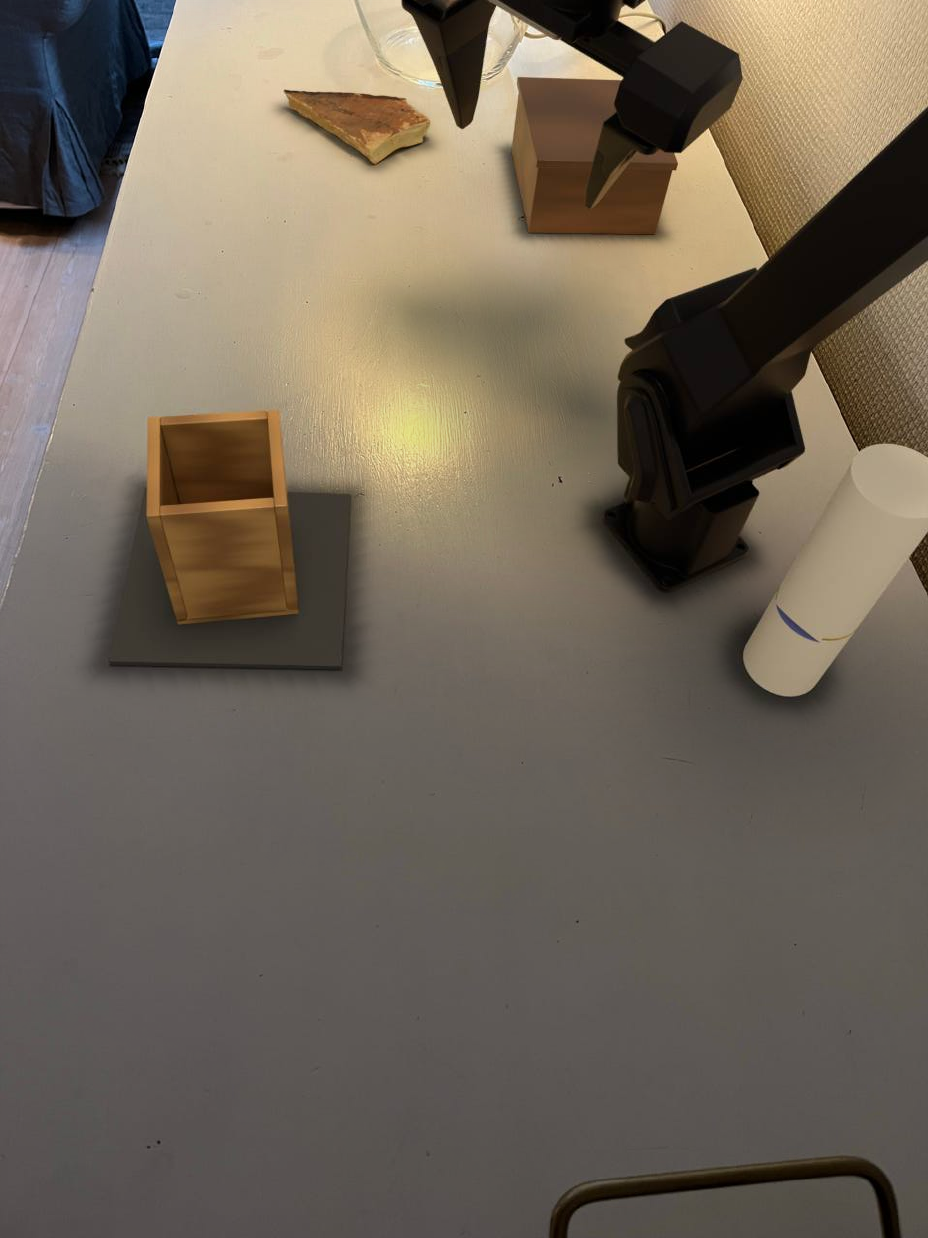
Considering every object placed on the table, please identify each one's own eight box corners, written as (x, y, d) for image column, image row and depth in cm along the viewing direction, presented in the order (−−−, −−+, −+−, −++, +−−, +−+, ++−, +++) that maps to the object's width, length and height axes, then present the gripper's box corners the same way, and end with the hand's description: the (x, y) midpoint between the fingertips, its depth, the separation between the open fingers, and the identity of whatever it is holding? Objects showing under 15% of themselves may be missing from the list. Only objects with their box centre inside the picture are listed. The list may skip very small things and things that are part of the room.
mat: (341, 669, 52) (341, 666, 52) (110, 665, 51) (108, 661, 51) (351, 498, 59) (350, 493, 59) (146, 491, 58) (144, 486, 58)
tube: (815, 635, 56) (941, 450, 44) (823, 701, 54) (959, 524, 41) (740, 626, 56) (845, 438, 44) (745, 691, 54) (857, 511, 41)
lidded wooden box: (658, 235, 76) (678, 162, 71) (526, 234, 75) (537, 159, 70) (630, 152, 83) (647, 80, 78) (508, 149, 81) (517, 76, 76)
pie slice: (284, 107, 82) (282, 85, 81) (354, 79, 86) (354, 58, 84) (369, 167, 78) (369, 145, 77) (439, 135, 82) (440, 114, 80)
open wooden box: (290, 523, 57) (278, 409, 50) (298, 614, 54) (287, 505, 46) (177, 532, 56) (147, 416, 49) (177, 625, 53) (146, 516, 45)
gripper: (855, -110, 45) (728, 180, 59) (530, -279, 49) (481, 31, 62) (740, -19, 40) (631, 275, 54) (387, -215, 44) (368, 108, 57)
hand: (527, 164), depth 57 cm, fingers open, 9 cm apart
